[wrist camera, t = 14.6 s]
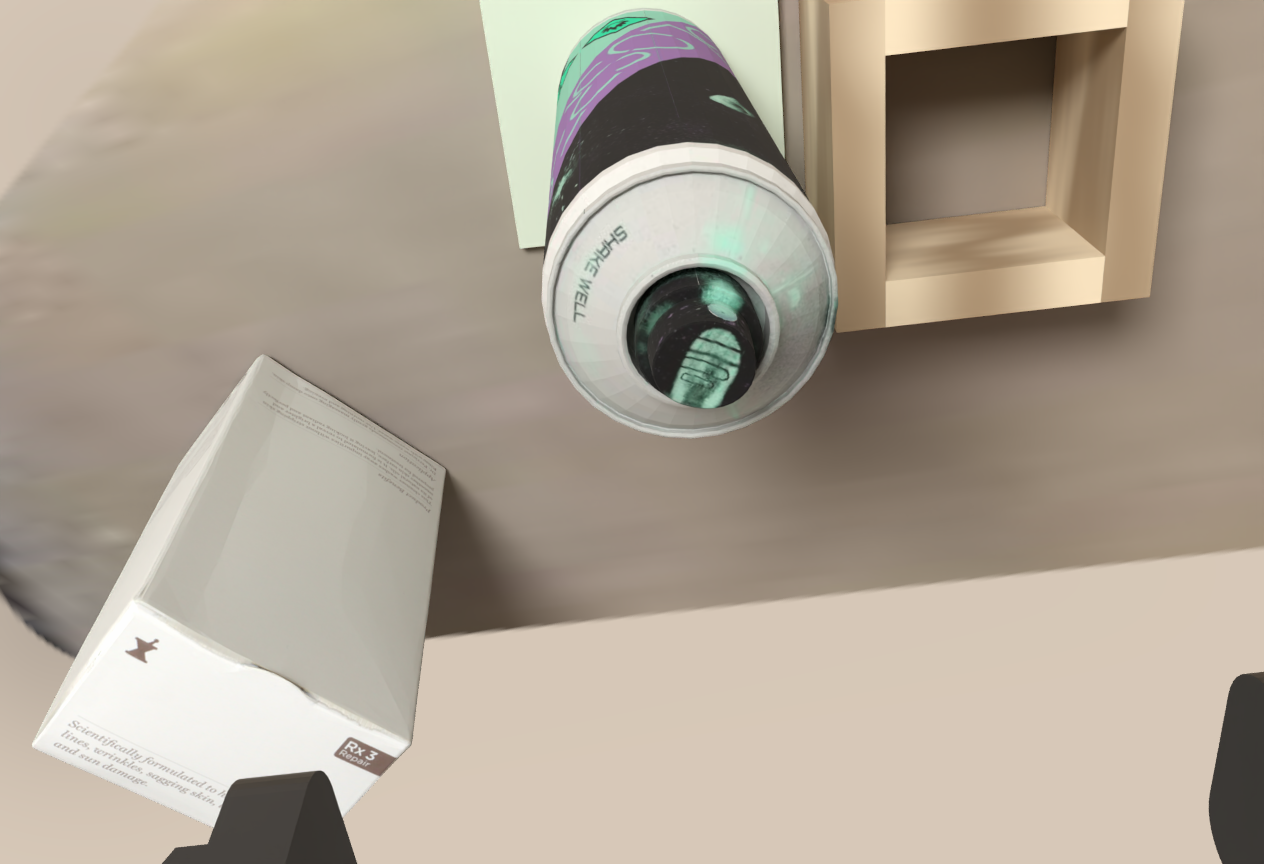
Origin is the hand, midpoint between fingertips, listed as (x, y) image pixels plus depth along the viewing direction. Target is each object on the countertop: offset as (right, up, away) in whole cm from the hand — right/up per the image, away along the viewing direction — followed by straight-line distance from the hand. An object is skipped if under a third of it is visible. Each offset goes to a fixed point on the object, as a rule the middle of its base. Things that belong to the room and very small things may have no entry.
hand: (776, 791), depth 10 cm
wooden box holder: (+9, +13, +27) cm, 31 cm away
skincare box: (-13, +2, +32) cm, 35 cm away
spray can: (-1, +14, +26) cm, 29 cm away
